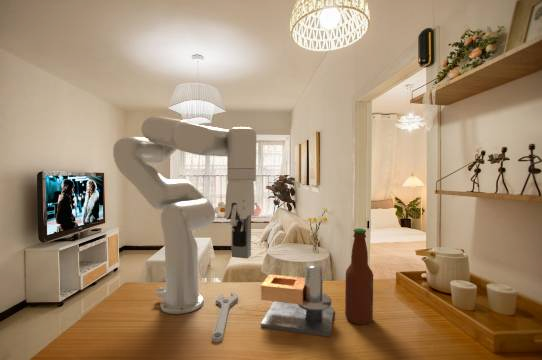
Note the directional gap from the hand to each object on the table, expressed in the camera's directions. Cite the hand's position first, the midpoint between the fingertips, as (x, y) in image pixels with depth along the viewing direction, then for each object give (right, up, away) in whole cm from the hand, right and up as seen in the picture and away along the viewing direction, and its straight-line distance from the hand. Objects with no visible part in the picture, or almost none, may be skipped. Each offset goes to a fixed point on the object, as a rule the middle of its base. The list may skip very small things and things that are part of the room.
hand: (241, 244), depth 79 cm
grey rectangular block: (0, -3, 0) cm, 3 cm away
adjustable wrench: (-6, -22, +6) cm, 24 cm away
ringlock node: (+15, -22, +4) cm, 27 cm away
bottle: (+32, -22, +4) cm, 39 cm away
